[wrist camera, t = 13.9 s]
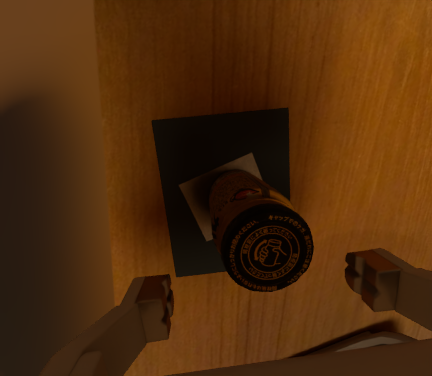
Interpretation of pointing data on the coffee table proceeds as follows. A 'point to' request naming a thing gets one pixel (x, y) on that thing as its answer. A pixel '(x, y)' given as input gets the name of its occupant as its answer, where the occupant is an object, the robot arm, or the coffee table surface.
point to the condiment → (250, 226)
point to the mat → (209, 160)
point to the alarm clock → (366, 341)
